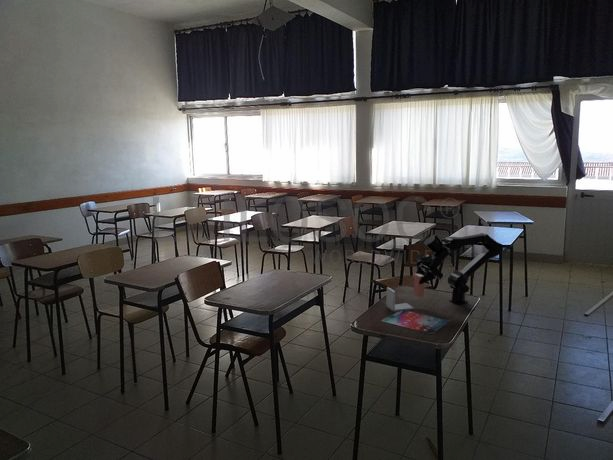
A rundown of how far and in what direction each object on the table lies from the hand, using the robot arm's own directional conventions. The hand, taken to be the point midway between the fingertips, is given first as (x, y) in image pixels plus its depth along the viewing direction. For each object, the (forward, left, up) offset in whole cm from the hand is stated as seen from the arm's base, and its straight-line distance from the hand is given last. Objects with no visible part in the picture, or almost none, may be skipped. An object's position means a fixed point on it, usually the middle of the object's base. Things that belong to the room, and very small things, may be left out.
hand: (416, 282), depth 230 cm
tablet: (+15, +13, -13) cm, 24 cm away
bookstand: (+8, -3, -12) cm, 15 cm away
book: (-1, 0, -7) cm, 7 cm away
